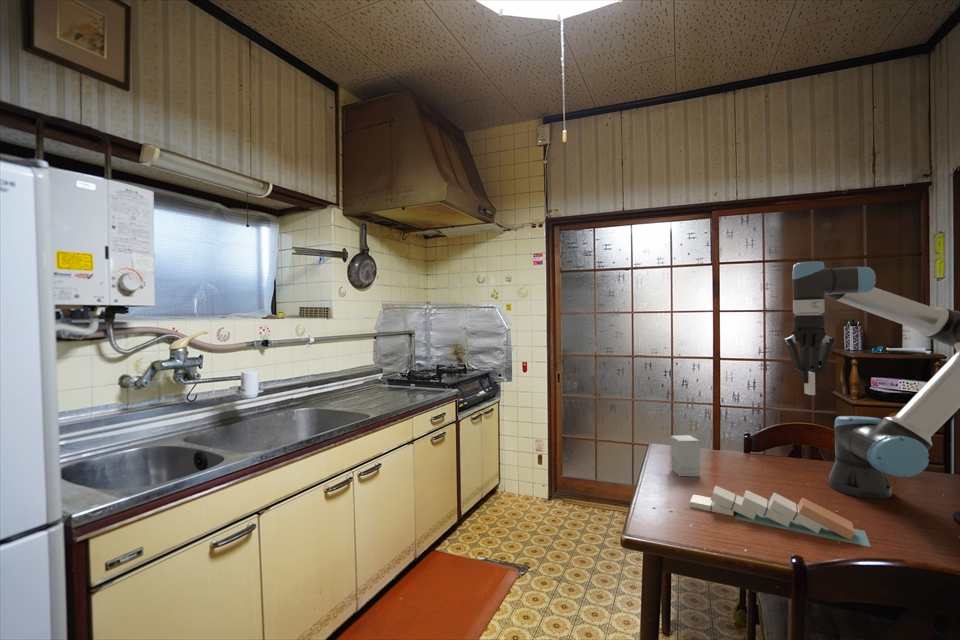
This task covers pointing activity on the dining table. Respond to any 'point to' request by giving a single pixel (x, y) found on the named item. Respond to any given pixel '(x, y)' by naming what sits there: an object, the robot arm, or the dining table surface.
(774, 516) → the domino
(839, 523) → the terracotta domino
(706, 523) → the dining table surface
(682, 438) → the supplement box
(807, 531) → the domino board
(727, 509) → the domino
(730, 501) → the domino
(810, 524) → the domino
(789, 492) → the dining table surface
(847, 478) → the robot arm
